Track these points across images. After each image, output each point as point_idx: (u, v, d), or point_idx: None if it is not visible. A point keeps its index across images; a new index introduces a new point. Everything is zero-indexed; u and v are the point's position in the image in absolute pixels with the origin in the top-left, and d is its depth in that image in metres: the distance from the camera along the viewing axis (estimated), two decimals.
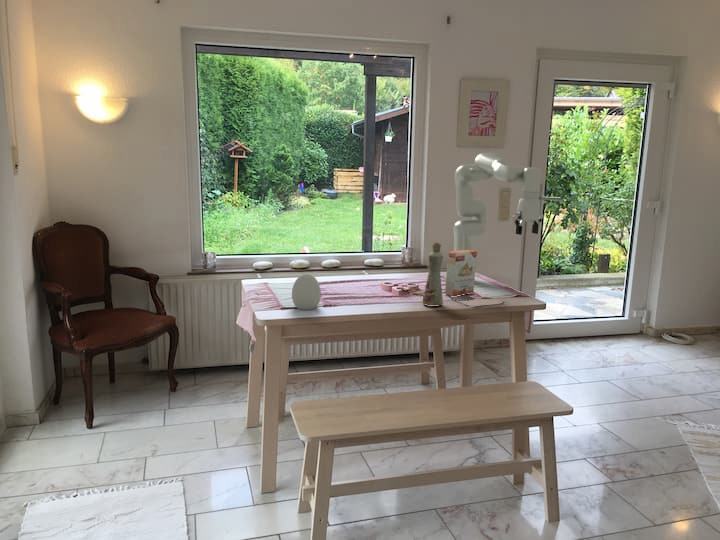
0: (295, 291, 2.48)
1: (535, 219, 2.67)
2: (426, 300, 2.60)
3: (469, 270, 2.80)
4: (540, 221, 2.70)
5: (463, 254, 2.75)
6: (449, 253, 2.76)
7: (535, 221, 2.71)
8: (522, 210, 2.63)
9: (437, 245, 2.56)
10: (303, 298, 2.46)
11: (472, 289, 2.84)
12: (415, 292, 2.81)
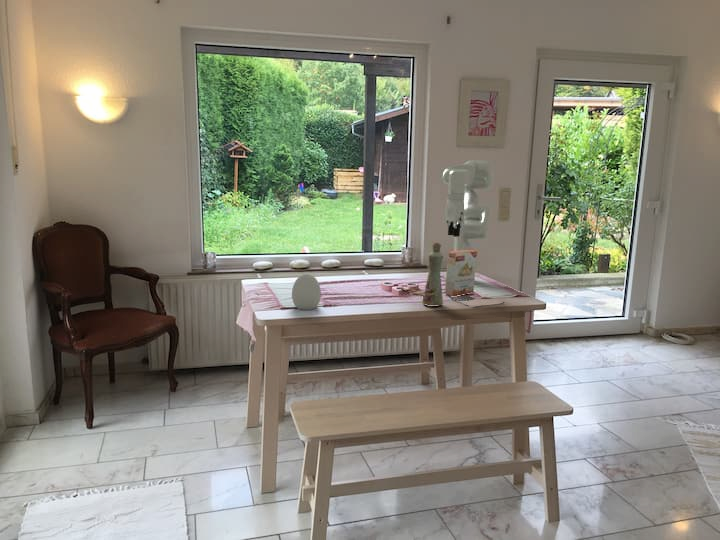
0: (295, 291, 2.48)
1: None
2: (426, 300, 2.60)
3: (469, 270, 2.80)
4: None
5: (463, 254, 2.75)
6: (449, 253, 2.76)
7: None
8: (463, 212, 2.78)
9: (437, 245, 2.56)
10: (303, 298, 2.46)
11: (472, 289, 2.84)
12: (415, 292, 2.81)
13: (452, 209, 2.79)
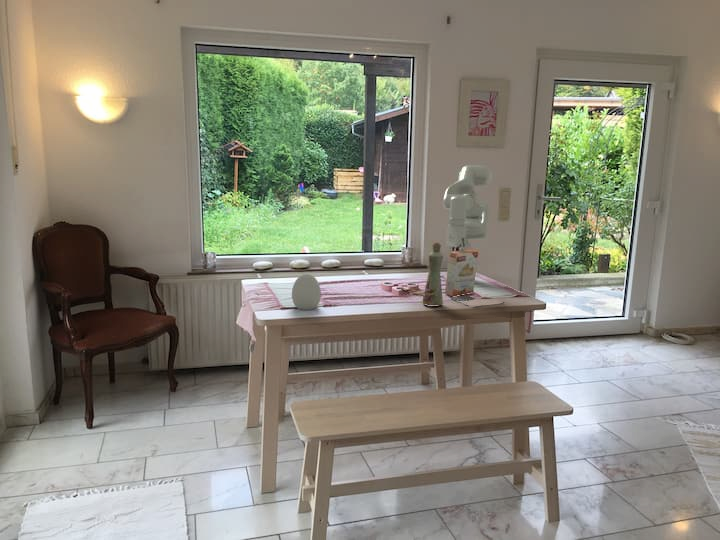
0: (295, 291, 2.48)
1: None
2: (426, 300, 2.60)
3: (470, 270, 2.79)
4: (453, 248, 2.86)
5: (464, 254, 2.75)
6: (450, 253, 2.75)
7: None
8: (464, 237, 2.78)
9: (437, 245, 2.56)
10: (303, 298, 2.46)
11: (472, 289, 2.84)
12: (415, 292, 2.81)
13: (453, 235, 2.79)
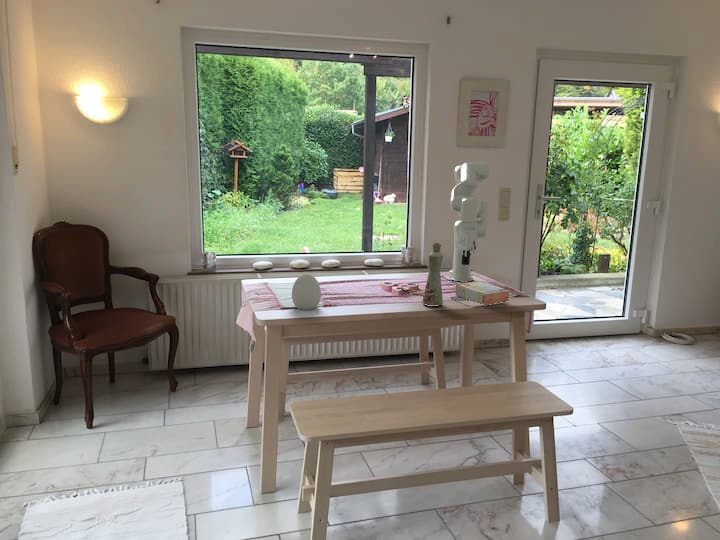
0: (295, 291, 2.48)
1: None
2: (426, 300, 2.60)
3: None
4: None
5: None
6: (485, 296, 2.60)
7: None
8: (476, 240, 2.71)
9: (437, 245, 2.56)
10: (303, 298, 2.46)
11: None
12: (415, 292, 2.81)
13: (464, 238, 2.72)
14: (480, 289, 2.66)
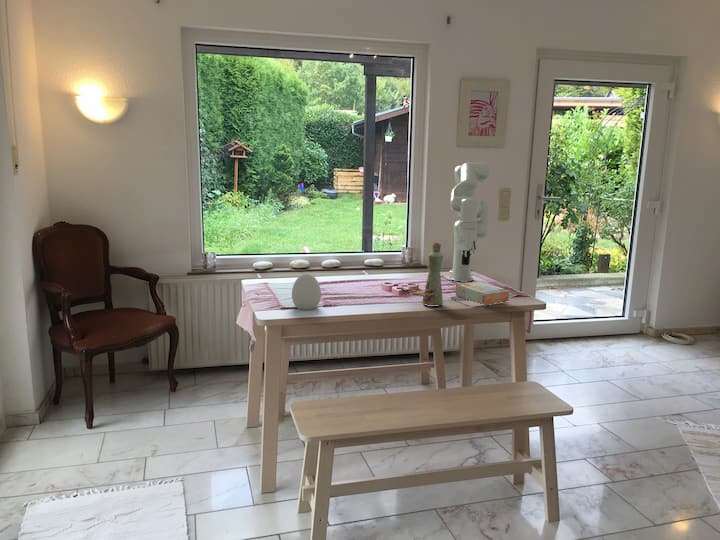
0: (295, 291, 2.48)
1: None
2: (426, 300, 2.60)
3: None
4: None
5: None
6: (485, 296, 2.60)
7: None
8: (475, 241, 2.71)
9: (437, 245, 2.56)
10: (303, 298, 2.46)
11: None
12: (415, 292, 2.81)
13: (464, 238, 2.72)
14: (480, 289, 2.66)
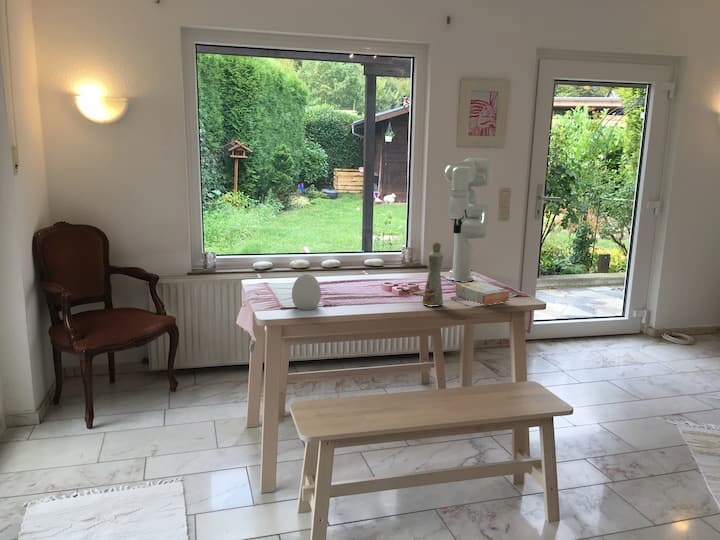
0: (295, 291, 2.48)
1: None
2: (426, 300, 2.60)
3: None
4: (456, 220, 2.83)
5: None
6: (485, 296, 2.60)
7: None
8: (467, 209, 2.75)
9: (437, 245, 2.56)
10: (303, 298, 2.46)
11: None
12: (415, 292, 2.81)
13: (455, 206, 2.76)
14: (480, 289, 2.66)
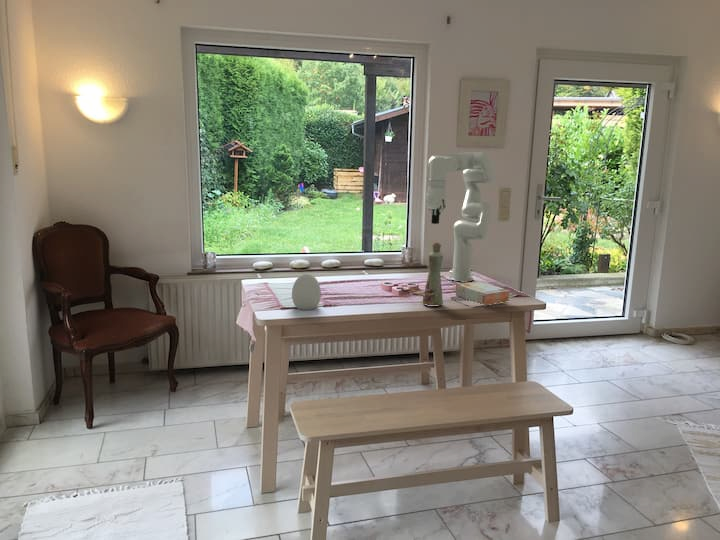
0: (295, 291, 2.48)
1: None
2: (426, 300, 2.60)
3: None
4: (434, 211, 2.81)
5: None
6: (485, 296, 2.60)
7: None
8: (445, 199, 2.73)
9: (437, 245, 2.56)
10: (303, 298, 2.46)
11: None
12: (415, 292, 2.81)
13: (433, 196, 2.74)
14: (480, 289, 2.66)
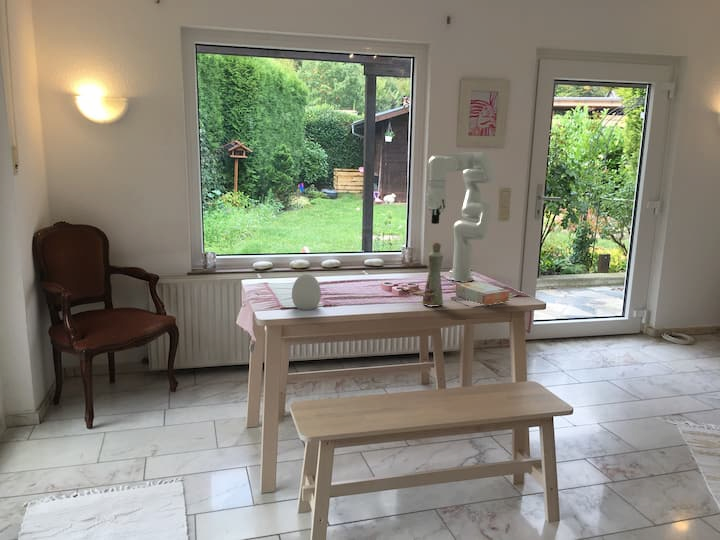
0: (295, 291, 2.48)
1: None
2: (426, 300, 2.60)
3: None
4: (434, 211, 2.81)
5: None
6: (485, 296, 2.60)
7: None
8: (445, 199, 2.73)
9: (437, 245, 2.56)
10: (303, 298, 2.46)
11: None
12: (415, 292, 2.81)
13: (433, 196, 2.74)
14: (480, 289, 2.66)
